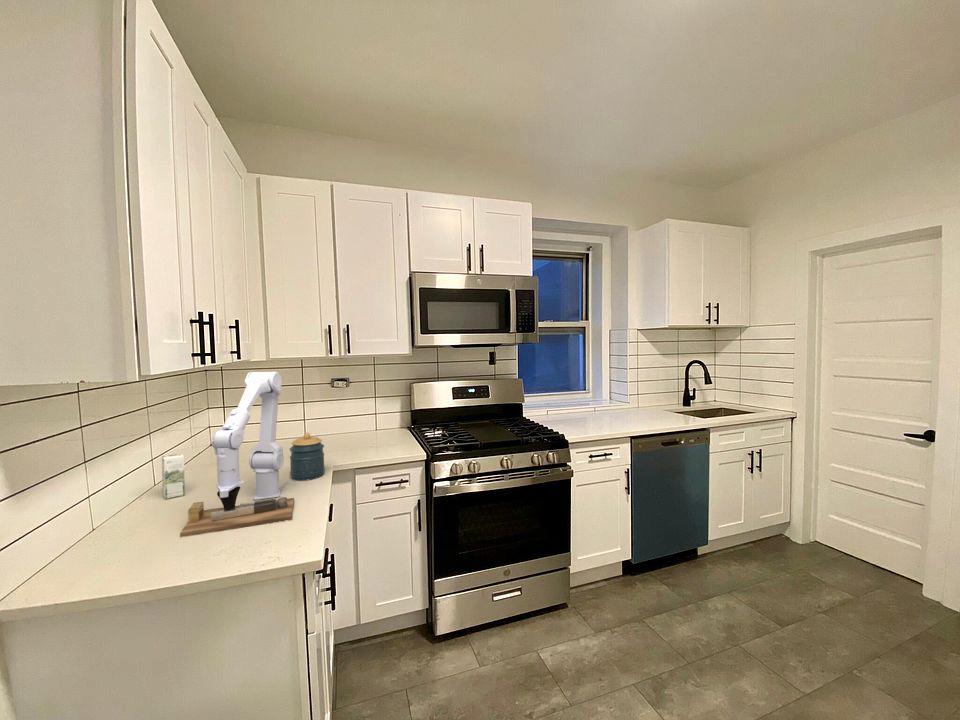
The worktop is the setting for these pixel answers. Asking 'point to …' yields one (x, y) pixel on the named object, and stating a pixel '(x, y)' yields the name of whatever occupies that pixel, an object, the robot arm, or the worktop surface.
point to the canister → (307, 458)
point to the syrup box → (173, 476)
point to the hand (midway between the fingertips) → (229, 512)
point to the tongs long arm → (243, 511)
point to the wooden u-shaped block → (195, 512)
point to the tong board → (240, 518)
